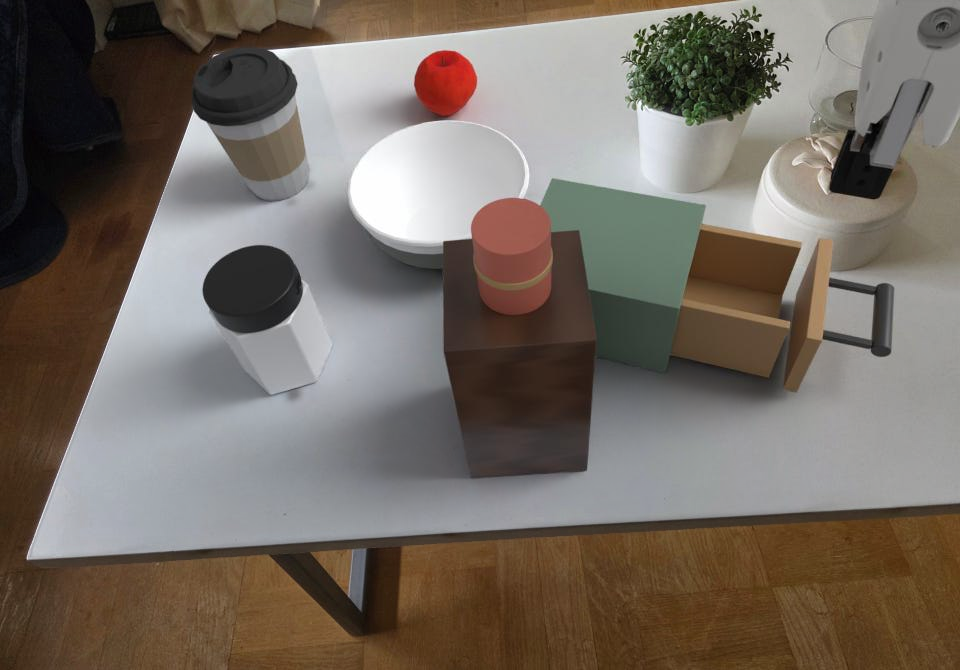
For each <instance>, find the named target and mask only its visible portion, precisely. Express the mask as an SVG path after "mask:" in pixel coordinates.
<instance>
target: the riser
mask: <svg viewBox="0 0 960 670" xmlns="http://www.w3.org/2000/svg"><path fill="white" fill-rule="evenodd" d="M551 248H552V252H553V262H552V266H551V292H550V295H549V297H548V299H547V300H546V301H545V302H544V304H543V305H541V306H540V307H539V308H537V309H536V310H534V311H532V312H529V313H526V314H521V315H506V314H502V313H498V312H496V311H494V310H492V309H491V308H489V307H488V306H487V305H486V304H485V303H484V302H483V300H482V299H481V297H480V293H479V287H478V279H477V273H476V271H475V267H474V261H473V254H474V249H473V241H472V239H463V240H451V241H443V268H442V325H443V327H442V331H443V333H442V334H443V335H442V336H443V339H442V340H443V341H442V342H443V343H442V345H443V346H442V349H443V350H442V351H443V357H444V361H445V366H446V369H447V374H448V379H449V385H450V388H451V393H452V399H453V402H454V403H453V404H454V408H455V411H456V417H457V421H458V425H459V430H460V435H461V439H462V444H463V449H464V453H465V457H466V462H467V467H468V472H469V476H470V479H480V478H481V479H483V478H495V477H496V478H497V477H510V476H511V477H512V476H513V477H514V476H526V475H540V474H541V475H543V474H555V473H568V472H569V473H572V472H585V471H586V472H587V471H588V464H589V463H588V462H589V450H590V438H591V437H590V436H591V425H592V424H591V422H592V410H593V398H594V397H593V396H594V382H595V371H596V370H595V369H596V358H597V357H596V344H597V338H596V331H595V325H594V319H593V313H592V306H591V300H590V294H589V287H588V281H587V275H586V269H585V262H584V256H583V250H582V243H581V237H580V231H579V230H571V231H559V232H551Z"/></svg>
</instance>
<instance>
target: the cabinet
mask: <svg viewBox="0 0 960 670" xmlns="http://www.w3.org/2000/svg"><path fill="white" fill-rule="evenodd" d="M539 205H540V206H541V207H542V208H543V209H544V210H545V211H546V212H547V214H548V216H549V218H550V222H551V232H559V231H571V230H579V231H580V237H581V243H582V250H583V256H584V262H585V269H586V275H587V281H588V287H589V294H590V300H591V306H592V313H593V319H594V325H595V331H596V338H597V344H596V357H595V358H599V359H600V358H601V359H603V360H609V361H611V362H612V361H613V362H617V363H620V364H624V365H630V366H633V367H638V368H641V369H647V370H649V371H655V372H659V373H663V374H666V373H667V369H668V365H669V361H670V358H671V355H670V352H671V347H672V343H673V338H674V333H675V329H676V324H677V320H678V315H679V310H680V306H681V302H682V298H683V294H684V290H685V287H686V283H687V279H688V275H689V271H690V267H691V263H692V259H693V255H694V251H695V247H696V244H697V240H698V236H699V232H700V228H701V224H703V220H704V216H705V212H706V209H707V208H706V207H707V205H706V204H700V203H696V202H690V201H685V200H678V199H672V198H668V197H661V196H657V195H656V196H655V195H651V194H646V193H638V192H633V191H627V190H622V189H615V188H611V187H604V186H599V185H595V184H588V183H581V182H576V181H571V180H564V179H558V178H554V177H553V178H551V180H550V182H549V185H548V186H547V189H546V191H545V193H544V196H543V197H542V200H541V203H540V204H539Z"/></svg>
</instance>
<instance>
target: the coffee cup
mask: <svg viewBox="0 0 960 670" xmlns="http://www.w3.org/2000/svg"><path fill="white" fill-rule="evenodd" d="M192 82H193V85H192V89H191V90H190V100H191V105H192V108H193V112H194V113H195V114H196V116H197V117H198V118H199V119H200V120H202V121H204V122H206V124H207V125H208V127H209V128H210V130H211V132H212V133H213V135H214V137H215V138H216V139H217V141H218V143H219V144H220V145H221V147H222V149H223V150H224V152H225V154H226V156H227V157H228V158H229V159H230V162H231V163H232V164H233V166H234V168H235V169H236V170H237V172H238V173H239V175H240V176H241V178H242V180H243V181H244V183H245V185H246V186H247V187H248V189H249V190H250V191H251V192H252V193H253V194H254V195H255V197H257V198H259V199H261V200H264V201H269V202H276V201H277V202H278V201H283V200H287V199H291V198H293V197H294V196H295V195H298V194H299V193H300V192H301V191H302V190H304V188H305V187H306V186H307V184H308V182H309V178H310V173H309V172H310V167H309V162H308V155H307V151H306V146H305V140H304V135H303V129H302V125H301V124H302V123H301V119H300V114H299V108H298V104H297V99H296V92H297V88H298V85H299V83H298V80H297V77H296V74H295V73H293V69H292V67H291V66H290V65H289V64H288V63H287V62H286V61H284V59H281V58H280V57H278V56H277V54H275V52H274V51H271V50H268V49H266V48H263V47H256V46H244V47H237V48H236V47H235V48H232V49H229V50H224V51H223V52H220V53H217V54H216V55H214V56H211V58H209V59H208V60H206V61H205V62H204V63H203V64H202V65H200V67H199V68H198V69H197V70H196V72H195V74H194V77H193V79H192Z"/></svg>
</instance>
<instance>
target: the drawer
mask: <svg viewBox="0 0 960 670" xmlns="http://www.w3.org/2000/svg"><path fill="white" fill-rule="evenodd" d="M802 246H803V242H802V241H800V240H799V241H798V240H793V239H787V238H782V237H777V236H771V235H765V234H760V233H756V232H755V233H754V232H749V231H743V230H739V229H733V228H727V227H721V226H717V225H711V224H706V223H702V224H701V228H700V232H699V236H698V240H697V244H696V247H695V251H694V255H693V259H692V263H691V267H690V271H689V275H688V279H687V283H686V287H685V290H684V294H683V298H682V302H681V306H680V310H679V315H678V320H677V324H676V329H675V333H674V338H673V343H672V347H671V352H670V356H674V357H678V358H682V359H688V360H690V361H694V362H700V363H703V364H708V365H713V366H716V367H721V368H724V369H725V368H726V369H729V370H734V371H738V372H743V373H746V374H751V375H754V376H760V377H764V378H770V376H771V373H772V371H773V369H774V366H775V363H776V361H777V359H778V356H779V354H780V352H781V350H782V347H783V346H784V343H785V340H786V337H787V335H788V333H789V331H790V335H789V341H788V346H787V347H788V348H787V355H786V362H785V369H784V376H783V382H782V390H783V391H786V392H792V393H798V390H799V388H800V387H801V384H802V383H803V380H804V378H805V377H806V374H807V373H808V370H809V368H810V366H811V365H812V362H813V360H814V358H815V356H816V354H817V353H818V350H819V348H820V346H821V344H822V342H823V341H829V342H833V343H838V344H843V345H847V346H853V347H856V348H862V349H865V350H870V353H871V354H872V355H873V356H874V357H878V358H884V357H885V358H886V357H888V356H890V355H891V354H892V350H893V349H892V348H893V329H894V327H893V326H894V309H895V307H894V306H895V287H894V286H893V284H890V283H888V282H881V283H877V285H876V286H875V285H870V284H864V283H860V282H854V281H848V280H845V279H844V280H843V279H838V278H833V277H830V275H831V267H832V258H833V248H834V239H829V238H828V239H827V238H823V237H819V238H818V240H817V243H816V245H815V247H814V250H813V252H812V254H811V257H810V259H809V262H808V264H807V266H806V269H805V272H804V274H803V276H802V279H801V281H800V284H799V286H798V289H797V291H796V294H795V298H794V299H795V300H794V307H793V313H792V320H791V321H792V322H791V321H790V320H785V319H780V315H781V310H782V304H783V297H784V293H785V291H786V288H787V286H788V283H789V280H790V278H791V275H792V273H793V270H794V268H795V265H796V262H797V260H798V257H799V255H800V252H801V250H802ZM829 288H833V289H839V290H844V291H849V292H854V293H859V294H865V295H868V296H869V295H870V296H873V308H872V322H871V323H872V324H871V337H870V339H868V338H864V337H859V336H854V335H850V334H845V333H839V332H836V331H831V330H827V329H824V327H825V319H826V310H827V301H828V293H829Z"/></svg>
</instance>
